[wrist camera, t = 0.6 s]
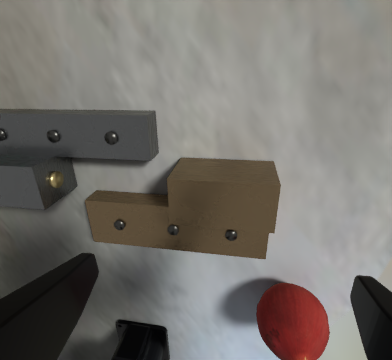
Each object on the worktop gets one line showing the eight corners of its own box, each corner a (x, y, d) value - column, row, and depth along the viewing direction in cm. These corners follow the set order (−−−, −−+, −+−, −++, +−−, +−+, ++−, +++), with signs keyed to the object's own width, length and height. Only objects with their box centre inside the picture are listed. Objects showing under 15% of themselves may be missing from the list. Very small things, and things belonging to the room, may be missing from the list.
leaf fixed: (161, 191, 23) (144, 218, 19) (3, 180, 26) (-41, 202, 22) (155, 110, 20) (132, 122, 16) (-23, 108, 23) (-80, 118, 19)
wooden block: (264, 244, 24) (267, 281, 20) (104, 229, 26) (79, 259, 22) (273, 161, 20) (280, 185, 16) (88, 153, 23) (55, 172, 19)
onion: (273, 313, 27) (284, 403, 20) (244, 276, 26) (243, 359, 19) (327, 296, 25) (360, 390, 18) (298, 255, 24) (321, 339, 16)
